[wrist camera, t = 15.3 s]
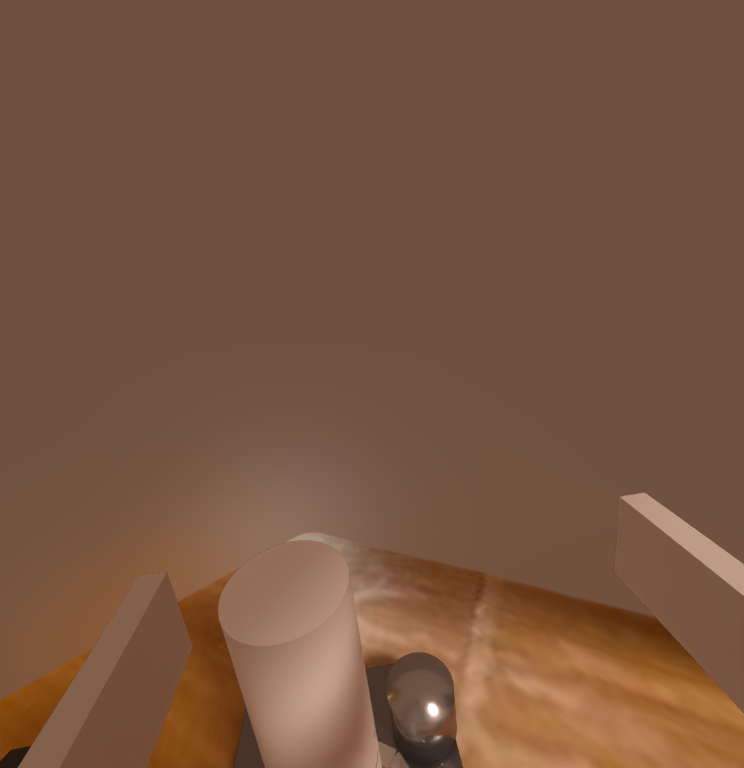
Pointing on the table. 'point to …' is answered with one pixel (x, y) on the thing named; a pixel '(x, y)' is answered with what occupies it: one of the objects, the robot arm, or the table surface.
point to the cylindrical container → (300, 658)
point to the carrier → (398, 716)
